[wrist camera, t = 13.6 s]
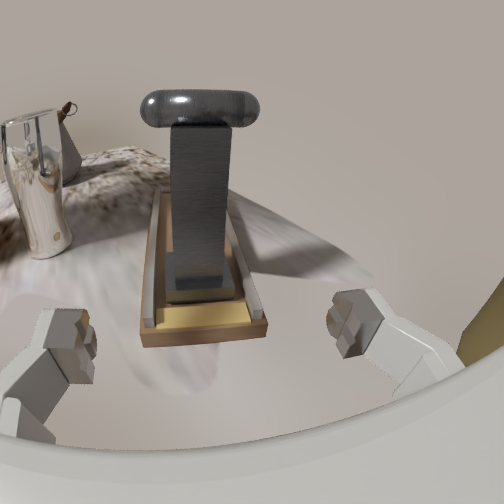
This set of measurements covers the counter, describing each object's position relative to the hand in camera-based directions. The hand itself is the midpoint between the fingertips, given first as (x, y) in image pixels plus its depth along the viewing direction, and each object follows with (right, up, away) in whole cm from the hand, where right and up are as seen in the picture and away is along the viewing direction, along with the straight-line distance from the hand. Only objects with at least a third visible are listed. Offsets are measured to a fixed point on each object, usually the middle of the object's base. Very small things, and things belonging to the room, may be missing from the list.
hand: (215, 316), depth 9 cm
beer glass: (-22, +3, +20) cm, 30 cm away
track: (-5, +2, +21) cm, 22 cm away
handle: (-4, +2, +17) cm, 18 cm away
